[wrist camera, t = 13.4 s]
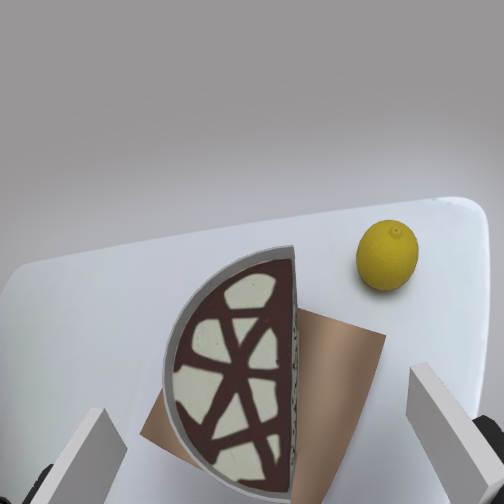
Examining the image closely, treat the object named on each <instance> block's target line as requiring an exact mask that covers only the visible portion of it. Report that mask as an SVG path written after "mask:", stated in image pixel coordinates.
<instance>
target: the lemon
mask: <svg viewBox="0 0 504 504" xmlns="http://www.w3.org/2000/svg"><path fill="white" fill-rule="evenodd" d="M417 261H418V243H417V239H416V237H415V235H414V234H413V232H412V231H411V230H410V228H409V227H407V226H406V225H405V224H403V223H401V222H399V221H395V220H384V221H380V222H378V223H376V224H374V225H373V226H371V227H370V228H369V229H368V230H367V231H366V233H365V234H364V236H363V237H362V239H361V240H360V243H359V246H358V249H357V254H356V262H357V267H358V271H359V273H360V275H361V277H362V279H363V280H364V281H365V282H366V283H367V284H368V285H370V286H371V287H373V288H375V289H378V290H385V291H386V290H393V289H395V288H398V287H400V286H401V285H403V284H404V283H405V282H406V281H407V280H408V279H409V278H410V277H411V275H412V274H413V272H414V270H415V267H416V264H417Z"/></svg>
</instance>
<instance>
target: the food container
mask: <svg viewBox="0 0 504 504" xmlns="http://www.w3.org/2000/svg"><path fill="white" fill-rule="evenodd" d="M294 259H295V254H294V247H293V245H287V246H279V247H273V248H269V249H265V250H261V251H257V252H255V253H252V254H250V255H247V256H245V257H242V258H240V259H238V260H236V261H234V262H232V263H231V264H229V265H227V266H225V267H224V268H222V269H221V270H219V271H218V272H217V273H215V274H214V275H213V276H211V277H210V278H209V279H208V280H207V281H206V282H205V283H204V284H203V285H202V286H201V287H200V288H199V289H198V290H197V291H196V292H195V293H194V294H193V295H192V296H191V298H190V299H189V300H188V302H187V303H186V304H185V306H184V307H183V308H182V310H181V312H180V314H179V316H178V318H177V319H176V321H175V323H174V325H173V328H172V330H171V333H170V336H169V339H168V341H167V345H166V350H165V355H164V360H163V376H162V386H163V395H164V402H165V407H166V410H167V413H168V417H169V420H170V423H171V425H172V427H173V429H174V432H175V434H176V436H177V438H178V440H179V442H180V443H181V444H182V446H183V447H184V449H185V450H186V451H187V453H188V454H189V455H190V457H191V458H192V459H193V460H194V461H195V462H196V463H197V464H198V465H199V466H200V467H201V468H202V469H203V470H204V471H205V472H206V473H207V474H209V475H210V476H211V477H213V478H214V479H216V480H217V481H219V482H220V483H222V484H223V485H225V486H226V487H228V488H231V489H233V490H235V491H237V492H239V493H241V494H244V495H246V496H249V497H253V498H257V499H261V500H265V501H269V502H278V503H289V504H290V503H291V502H292V499H291V494H292V487H293V480H294V474H295V466H296V459H297V440H298V400H299V323H298V305H297V289H296V274H295V260H294Z"/></svg>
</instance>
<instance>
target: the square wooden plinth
mask: <svg viewBox="0 0 504 504" xmlns="http://www.w3.org/2000/svg"><path fill="white" fill-rule="evenodd" d="M298 323H299V400H298V440H297V459H296V466H295V474H294V480H293V487H292V494H291V499H292V502H291V503H290V504H321V503H322V501H323V499H324V497H325V495H326V493H327V491H328V489H329V487H330V485H331V483H332V480H333V478H334V476H335V474H336V472H337V470H338V468H339V465H340V463H341V461H342V459H343V456H344V454H345V452H346V449H347V447H348V445H349V442H350V440H351V437H352V435H353V433H354V430H355V428H356V425H357V422H358V420H359V417H360V415H361V412H362V409H363V406H364V404H365V401H366V398H367V395H368V392H369V390H370V387H371V384H372V381H373V378H374V375H375V371H376V368H377V365H378V362H379V359H380V355H381V352H382V349H383V345H384V342H385V338H386V335H383V334H380V333H377V332H373V331H370V330H367V329H363V328H360V327H357V326H354V325H350V324H347V323H344V322H341V321H337V320H334V319H331V318H328V317H325V316H322V315H318V314H315V313H312V312H309V311H306V310H303V309H300V308H298ZM140 435H141V436H143V437H145V438H146V439H148V440H149V441H151V442H153V443H154V444H156V445H158V446H159V447H161V448H163V449H165V450H166V451H168V452H170V453H172V454H173V455H175V456H177V457H179V458H181V459H182V460H184V461H186V462H188V463H190V464H192V465H194V466H196V467H198V468H200V469H202V468H201V467H200V466H199V465H198V464H197V463H196V462H195V461H194V460H193V459H192V458H191V457H190V455H189V454H188V453H187V451H186V450H185V449H184V447H183V446H182V444H181V443H180V442H179V440H178V438H177V436H176V434H175V432H174V429H173V427H172V425H171V423H170V420H169V417H168V413H167V410H166V407H165V402H164V395H163V388H162V390H161V392H160V394H159V396H158V398H157V400H156V402H155V404H154V406H153V408H152V410H151V412H150V414H149V416H148V418H147V420H146V422H145V424H144V426H143V428H142V430H141V432H140ZM202 470H203V469H202ZM282 504H289V503H282Z"/></svg>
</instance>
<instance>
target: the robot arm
mask: <svg viewBox="0 0 504 504" xmlns="http://www.w3.org/2000/svg"><path fill="white" fill-rule="evenodd" d="M406 416H407V418H408V420H409V422H410V423H411V425H412V427H413V429H414V431H415V433H416V435H417V436H418V438H419V440H420V442H421V444H422V446H423V448H424V450H425V452H426V454H427V456H428V457H429V459H430V461H431V463H432V465H433V467H434V469H435V471H436V473H437V475H438V477H439V479H440V481H441V483H442V485H443V487H444V489H445V491H446V493H447V495H448V498H449V500H450V502H451V504H504V432H502V431H501V429H500V427H499V426H498V425H497V424H496V423H495V421H494V420H492V419H490V418H488V417H487V416H484V415H482V416H480V417H478V418H476V419H474V420H471V419H470V417H469V416H468V415H467V413H466V412H465V411H464V409H463V408H462V407H461V405H460V404H459V403H458V401H457V400H456V399H455V398H454V396H453V395H452V394H451V392H450V391H449V390H448V388H447V387H446V386H445V385H444V383H443V382H442V381H441V380H440V378H439V377H438V376H437V375H436V373H435V372H434V371H433V370H432V368H431V367H430V366H429V365H428V363H427V362H425V363H422V364H418V365H415V366H412V367H410V376H409V389H408V400H407V409H406ZM126 452H127V447H126V446H125V444H124V442H123V440H122V439H121V437H120V435H119V434H118V432H117V430H116V428H115V427H114V425H113V423H112V421H111V419H110V417H109V416H108V414H107V412H106V410H105V408H93V407H91V409H90V410H89V412H88V413H87V415H86V416H85V418H84V419H83V421H82V422H81V424H80V425H79V427H78V428H77V430H76V431H75V433H74V434H73V436H72V437H71V439H70V440H69V442H68V444H67V445H66V447H65V448H64V450H63V451H62V453H61V454H60V456H59V458H58V459H57V461H56V462H55V464H50V465H49V466H48V467H47V468H45V469H44V470H43V471H42V473H41V474H40V476H39V478H38V481H36V482H35V484H34V487H32V489H31V490H30V492H29V493H28V495H27V497H26V498H25V500H24V501H23V503H22V504H104V502H105V499H106V497H107V495H108V492H109V490H110V488H111V485H112V483H113V481H114V479H115V476H116V474H117V472H118V470H119V467H120V465H121V463H122V461H123V458H124V456H125V454H126ZM0 504H11V503H10V502H9V501H8V500H7V499H6V498H4V497H0Z"/></svg>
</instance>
